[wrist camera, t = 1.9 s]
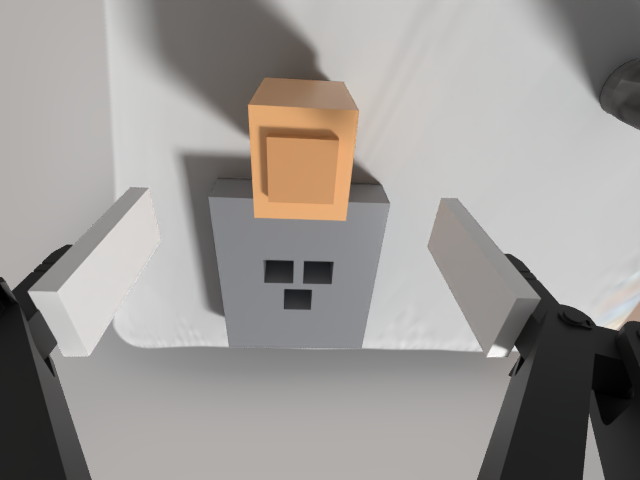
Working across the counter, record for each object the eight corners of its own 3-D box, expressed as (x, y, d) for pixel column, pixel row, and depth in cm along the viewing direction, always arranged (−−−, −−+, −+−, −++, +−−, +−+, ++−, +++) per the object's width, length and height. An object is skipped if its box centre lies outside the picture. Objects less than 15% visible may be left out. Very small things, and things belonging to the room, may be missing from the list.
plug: (267, 72, 28) (246, 107, 18) (340, 76, 28) (360, 113, 18) (269, 155, 32) (253, 222, 21) (333, 158, 32) (346, 225, 22)
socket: (218, 178, 33) (208, 197, 29) (381, 184, 34) (390, 203, 30) (234, 321, 44) (229, 347, 40) (357, 323, 45) (361, 348, 41)
